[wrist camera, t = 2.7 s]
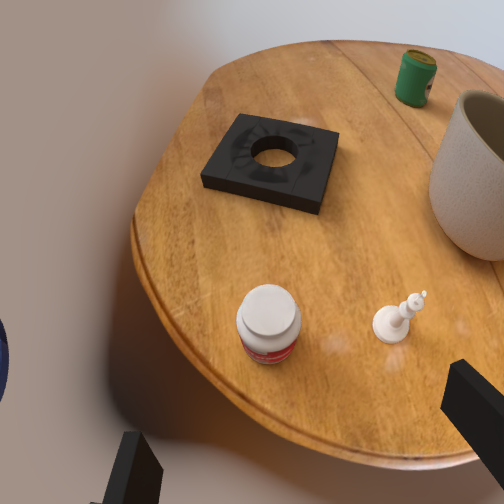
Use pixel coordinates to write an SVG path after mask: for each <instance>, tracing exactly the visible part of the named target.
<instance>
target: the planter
mask: <svg viewBox="0 0 504 504" xmlns="http://www.w3.org/2000/svg"><path fill="white" fill-rule="evenodd" d="M429 197H430V202H431V206H432V209H433V212H434V215H435V217H436V219H437V221H438V223H439V225H440V226H441V228H442V229H443V231H444V232H445V234H446V235H447V236H448V237H449V238H450V239H451V240H452V241H453V242H454V243H455V244H456V245H457V246H458V247H459V248H461V249H462V250H463V251H465V252H467V253H468V254H470V255H472V256H474V257H477V258H480V259H483V260H489V261H499V260H504V98H502V97H500V96H497V95H495V94H492V93H489V92H486V91H482V90H467V91H464V92H463V93H461V94H460V96H459V98H458V100H457V103H456V105H455V108H454V111H453V114H452V116H451V119H450V122H449V124H448V127H447V130H446V132H445V135H444V137H443V139H442V142H441V145H440V147H439V150H438V152H437V155H436V158H435V160H434V164H433V167H432V171H431V174H430V180H429Z"/></svg>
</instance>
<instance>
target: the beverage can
mask: <svg viewBox="0 0 504 504" xmlns="http://www.w3.org/2000/svg"><path fill="white" fill-rule="evenodd" d="M436 71H437V66H436V61H435V59H434V58H432V57H431V56H430V55H428V54H426V53H424V52H421V51H418V50H413V49H409V50H407V52H406V53H404V54H403V57H402V62H401V66H400V71H399V75H398V79H397V83H396V87H395V93H396V97H397V98H398V99H399V100H400V101H401V102H403V103H404V104H406V105H409V106H411V107H417V108H418V107H422V106H423V105H424V104H426V102H427V99H428V96H429V93H430V90H431V87H432V84H433V80H434V77H435V74H436Z"/></svg>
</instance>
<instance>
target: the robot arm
mask: <svg viewBox="0 0 504 504" xmlns="http://www.w3.org/2000/svg"><path fill="white" fill-rule="evenodd" d="M440 409H441V410H442V411H443V412H444V414H445V415H446V416H447V417H448V418H449V420H450V421H451V422H452V423H453V425H454V426H455V427H456V428H457V430H458V431H459V432H460V433H461V435H462V436H463V437H464V439H465V440H466V441H467V442H468V444H469V445H470V446H471V447H472V449H473V450H474V451H475V453H476V454H477V455H478V457H479V458H480V459H481V460H482V462H483V463H484V464H485V466H486V467H487V468H488V470H489V471H490V472H491V474H492V475H493V476H494V478H495V479H496V480H497V481H498V483H499V484H500V486H501V487H502V488H503V490H504V396H503V395H502V394H501V393H500V392H499V391H498V390H497V389H496V388H495V387H494V386H493V385H492V384H491V383H489V382H488V381H487V380H486V379H485V378H484V377H483V376H482V375H481V374H480V373H479V372H478V371H476V370H475V369H474V368H473V367H472V366H471V365H470V364H469V363H468V362H466V361H465V360H464V359H461V360H459V361H457V362H454V363H452V364H450V369H449V374H448V379H447V383H446V387H445V392H444V396H443V400H442V404H441V407H440ZM162 477H163V468H162V467H161V465H160V463H159V462H158V460H157V458H156V457H155V455H154V454H153V452H152V450H151V448H150V447H149V445H148V443H147V442H146V440H145V438H144V436H143V434H142V432H141V431H139V432H124V434H123V437H122V441H121V443H120V446H119V449H118V453H117V456H116V459H115V462H114V465H113V469H112V472H111V475H110V479H109V482H108V485H107V489H106V492H105V496H104V499H103V503H102V504H158V503H159V496H160V490H161V483H162ZM90 504H101V503H94V502H91V503H90Z"/></svg>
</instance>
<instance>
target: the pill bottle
mask: <svg viewBox="0 0 504 504" xmlns="http://www.w3.org/2000/svg"><path fill="white" fill-rule="evenodd" d="M301 321H302V319H301V313H300V310H299V307H298V305H297V304H296V302H295V301H294V299H293V297H292V296H291V295H290V293H289V292H288V291H286V290H285V289H283V288H282V287H279V286H276V285H270V284H267V285H261V286H258V287H256V288H254V289H253V290H251V291H250V292H249V293H248V294H247V295H246V297H245V298H244V300H243V303H242V304H241V306H240V308H239V310H238V313H237V318H236V323H237V330H238V333H239V336H240V338H241V341H242V344H243V347H244V349H245V351H246V353H247V354H248V355H249V356H250V357H251V358H252V359H253V360H255V361H257V362H259V363H263V364H274V363H278V362H280V361H282V360H284V359H285V358H287V357H288V356H289V354H290V353H291V352H292V350H293V348H294V346H295V343H296V340H297V338H298V335H299V332H300V329H301Z"/></svg>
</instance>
